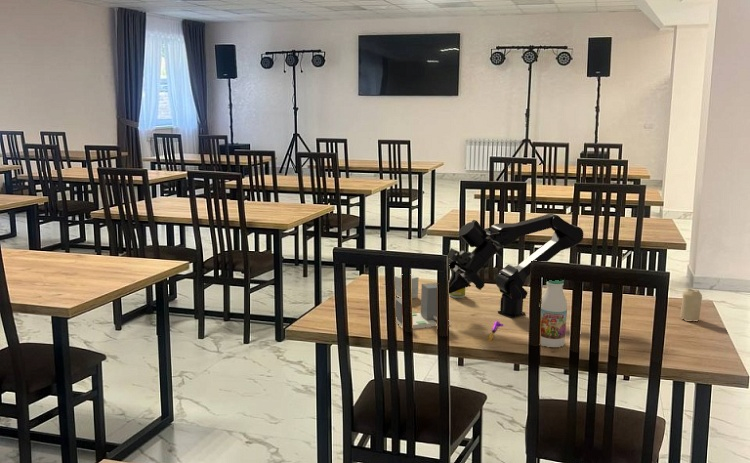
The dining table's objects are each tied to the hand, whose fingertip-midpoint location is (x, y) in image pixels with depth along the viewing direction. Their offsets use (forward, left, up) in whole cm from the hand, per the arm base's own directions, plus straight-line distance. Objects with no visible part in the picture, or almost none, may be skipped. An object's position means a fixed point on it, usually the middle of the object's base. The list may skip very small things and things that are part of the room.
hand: (445, 293), depth 217 cm
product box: (+25, -7, -9) cm, 28 cm away
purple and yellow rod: (-17, -5, -9) cm, 20 cm away
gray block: (+2, +4, -7) cm, 9 cm away
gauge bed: (+3, +7, -9) cm, 12 cm away
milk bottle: (-33, -10, -9) cm, 35 cm away
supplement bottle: (+15, -22, -9) cm, 28 cm away
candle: (-47, -64, -9) cm, 80 cm away
